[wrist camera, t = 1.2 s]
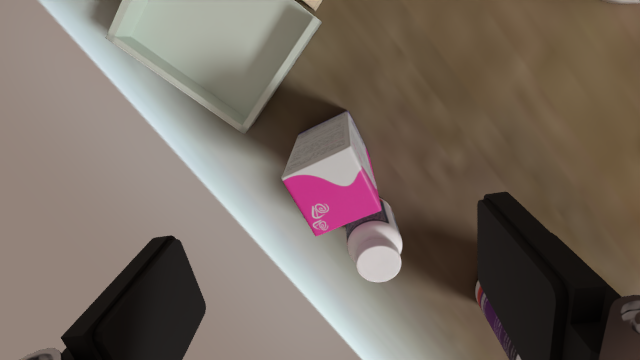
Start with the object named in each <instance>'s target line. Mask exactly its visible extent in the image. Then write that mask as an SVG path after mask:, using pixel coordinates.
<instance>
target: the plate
mask: <svg viewBox="0 0 640 360" xmlns="http://www.w3.org/2000/svg"><path fill="white" fill-rule="evenodd" d="M302 1H304V2H305V3H306V4H307V5H308V6H310V7H311V8H312V9H313V10H315V11H316V10H317V8H318V7H319V5H320V4H321V2H322V0H302Z"/></svg>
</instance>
